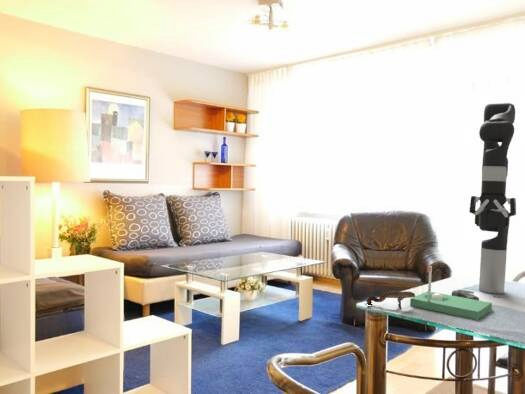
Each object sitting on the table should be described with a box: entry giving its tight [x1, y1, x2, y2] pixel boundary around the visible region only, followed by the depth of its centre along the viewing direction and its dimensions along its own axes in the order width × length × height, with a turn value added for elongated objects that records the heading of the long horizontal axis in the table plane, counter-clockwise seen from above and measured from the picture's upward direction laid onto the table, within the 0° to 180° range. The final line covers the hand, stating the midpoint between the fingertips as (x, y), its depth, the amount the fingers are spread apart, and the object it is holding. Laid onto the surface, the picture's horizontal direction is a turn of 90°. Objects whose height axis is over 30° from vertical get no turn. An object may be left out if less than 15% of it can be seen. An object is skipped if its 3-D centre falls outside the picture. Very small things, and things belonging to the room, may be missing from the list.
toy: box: [365, 290, 416, 310], centre depth 158 cm, size 6×9×15 cm
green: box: [409, 290, 493, 320], centre depth 161 cm, size 16×22×2 cm
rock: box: [451, 289, 480, 301], centre depth 171 cm, size 8×10×4 cm
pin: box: [426, 265, 433, 302], centre depth 157 cm, size 3×1×12 cm, turn 140°
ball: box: [431, 292, 443, 300], centre depth 164 cm, size 4×4×4 cm
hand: (491, 227), depth 162 cm, fingers open, 8 cm apart
